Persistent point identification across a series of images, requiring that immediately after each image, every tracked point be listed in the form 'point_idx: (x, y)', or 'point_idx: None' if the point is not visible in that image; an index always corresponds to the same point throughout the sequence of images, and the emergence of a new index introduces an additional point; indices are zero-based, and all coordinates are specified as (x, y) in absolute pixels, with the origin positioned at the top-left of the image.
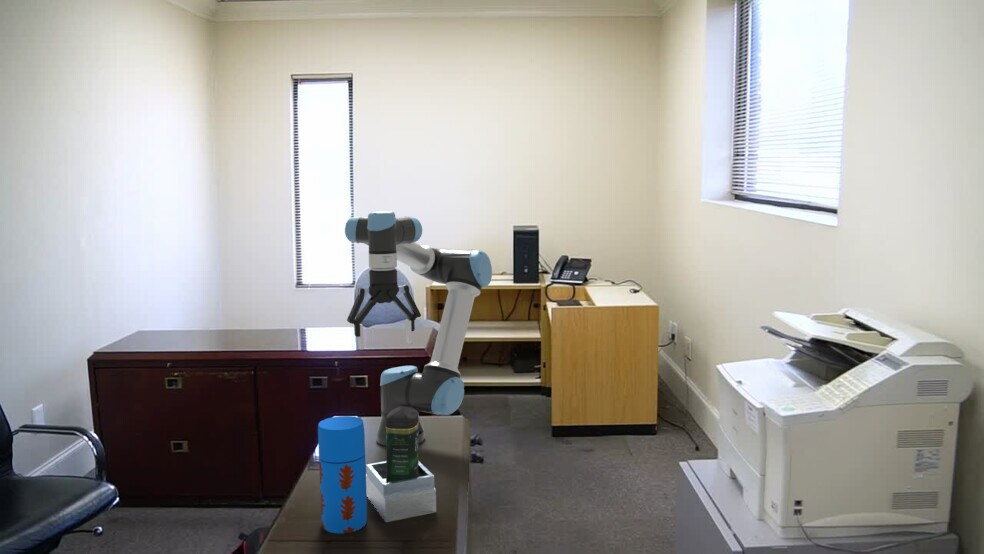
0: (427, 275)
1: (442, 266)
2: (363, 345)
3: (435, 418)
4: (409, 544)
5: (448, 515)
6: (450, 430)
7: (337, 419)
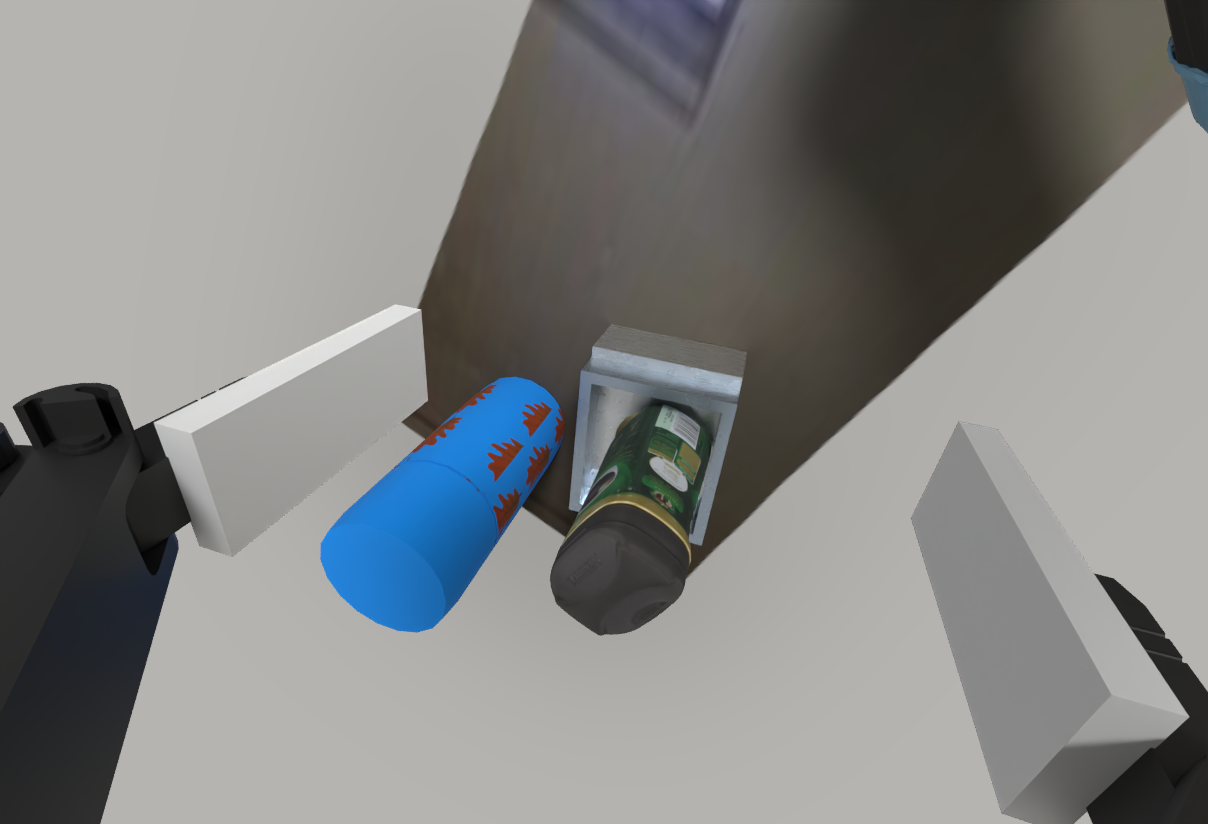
0: None
1: None
2: (405, 415)
3: None
4: None
5: (723, 522)
6: None
7: (376, 550)
